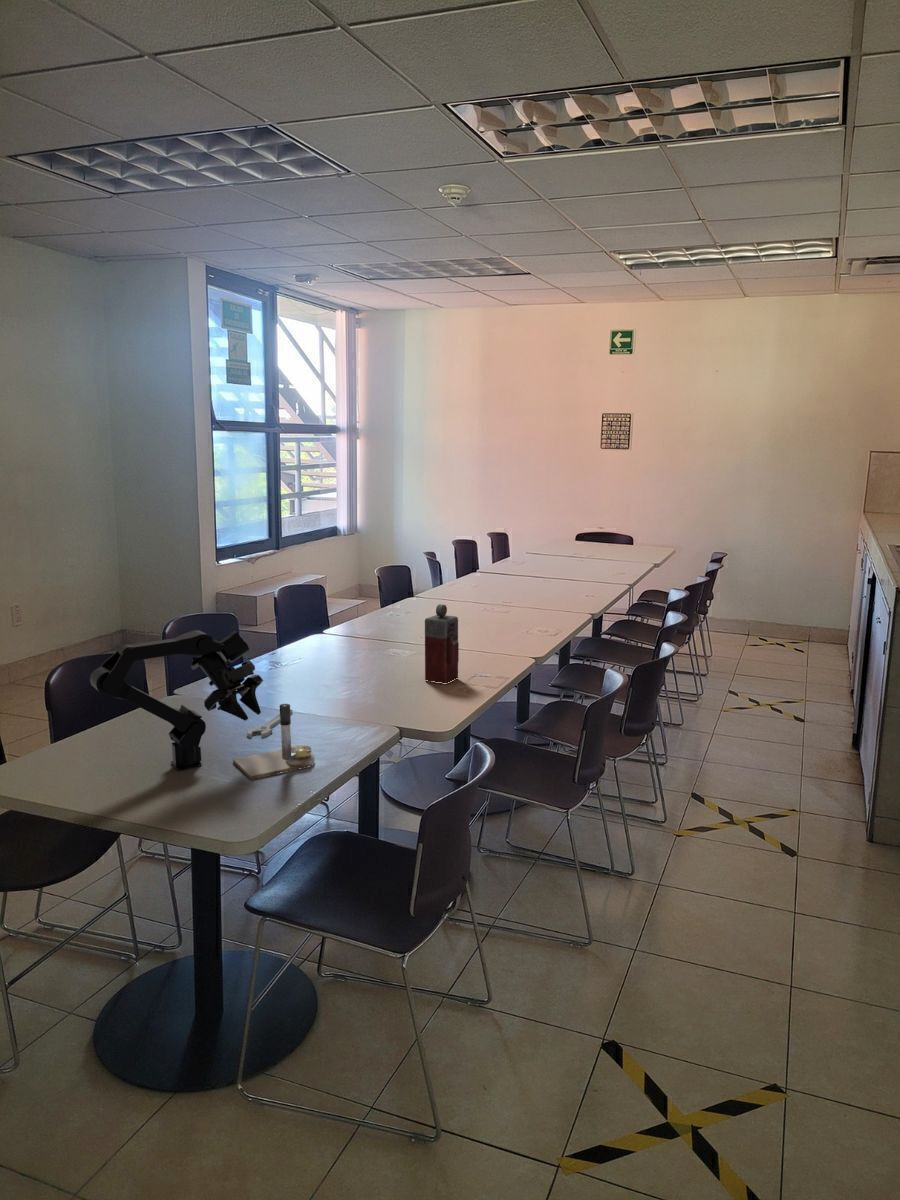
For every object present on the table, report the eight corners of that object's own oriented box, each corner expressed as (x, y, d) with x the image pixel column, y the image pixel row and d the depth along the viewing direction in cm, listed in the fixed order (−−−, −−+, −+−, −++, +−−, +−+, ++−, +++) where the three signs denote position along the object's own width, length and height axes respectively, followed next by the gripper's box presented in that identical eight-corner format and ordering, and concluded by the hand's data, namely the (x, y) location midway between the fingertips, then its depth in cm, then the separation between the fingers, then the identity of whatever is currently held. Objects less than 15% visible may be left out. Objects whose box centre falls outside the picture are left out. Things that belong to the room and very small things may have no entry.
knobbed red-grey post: (451, 685, 301) (451, 608, 296) (424, 681, 307) (424, 605, 302) (463, 679, 309) (464, 604, 304) (437, 675, 314) (437, 601, 309)
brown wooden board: (251, 779, 217) (250, 772, 217) (233, 762, 228) (232, 755, 228) (319, 765, 227) (319, 757, 227) (298, 749, 238) (298, 742, 238)
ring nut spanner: (296, 749, 232) (294, 694, 229) (316, 753, 229) (314, 697, 226) (273, 762, 222) (271, 705, 219) (294, 766, 220) (292, 708, 217)
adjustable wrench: (286, 713, 272) (286, 708, 272) (304, 715, 270) (304, 710, 270) (243, 737, 249) (243, 732, 249) (263, 740, 247) (263, 734, 247)
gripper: (210, 661, 215) (248, 708, 213) (256, 645, 232) (291, 689, 229) (188, 687, 220) (224, 734, 217) (234, 670, 237) (268, 713, 234)
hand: (253, 716), depth 224 cm, fingers open, 5 cm apart
